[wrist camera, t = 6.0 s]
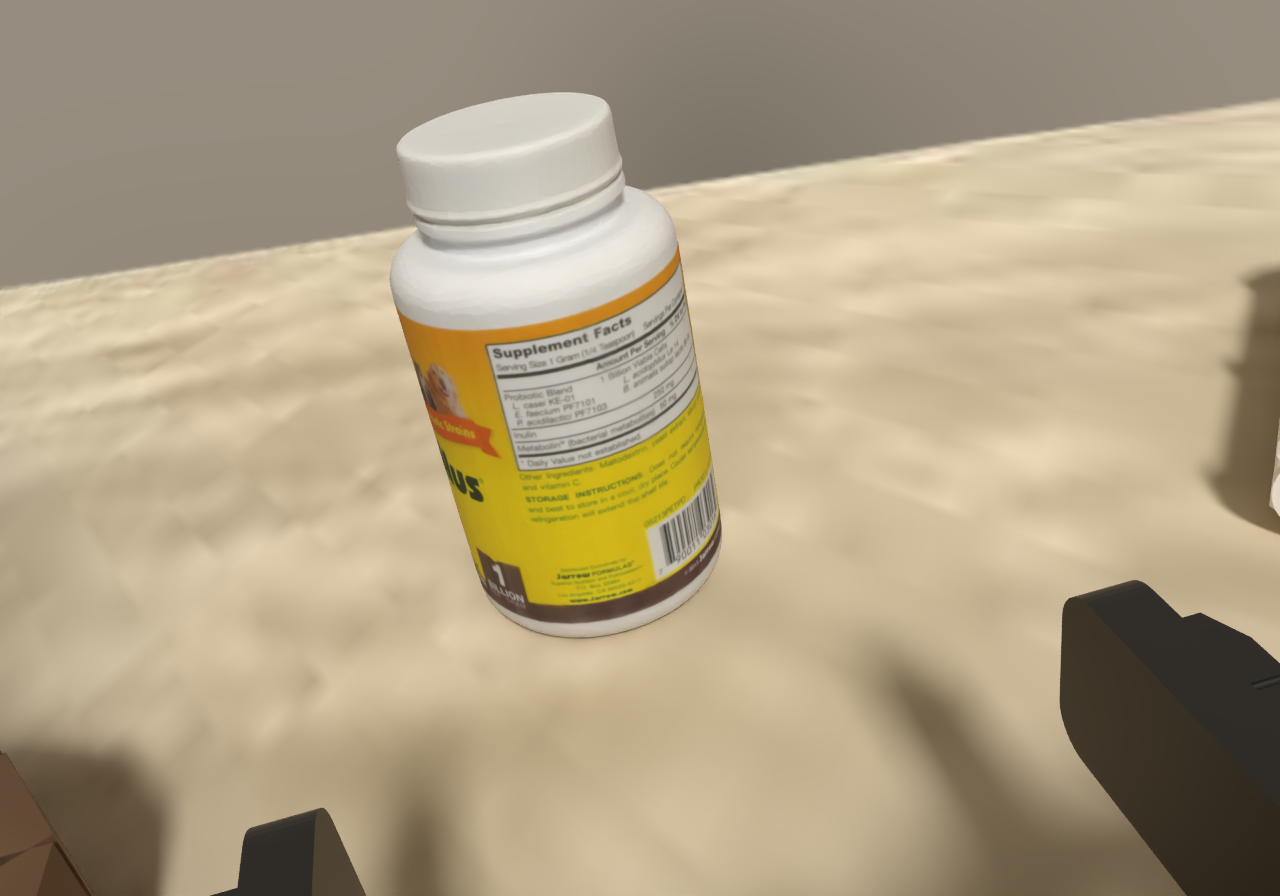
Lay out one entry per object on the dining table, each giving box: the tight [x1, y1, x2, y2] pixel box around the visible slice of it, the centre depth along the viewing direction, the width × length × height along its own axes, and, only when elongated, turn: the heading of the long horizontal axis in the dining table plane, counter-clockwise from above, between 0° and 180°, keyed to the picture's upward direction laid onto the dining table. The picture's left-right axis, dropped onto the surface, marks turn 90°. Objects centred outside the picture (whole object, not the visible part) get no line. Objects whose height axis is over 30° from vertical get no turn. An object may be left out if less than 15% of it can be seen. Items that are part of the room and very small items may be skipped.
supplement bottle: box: [390, 92, 722, 638], centre depth 23 cm, size 6×6×10 cm
